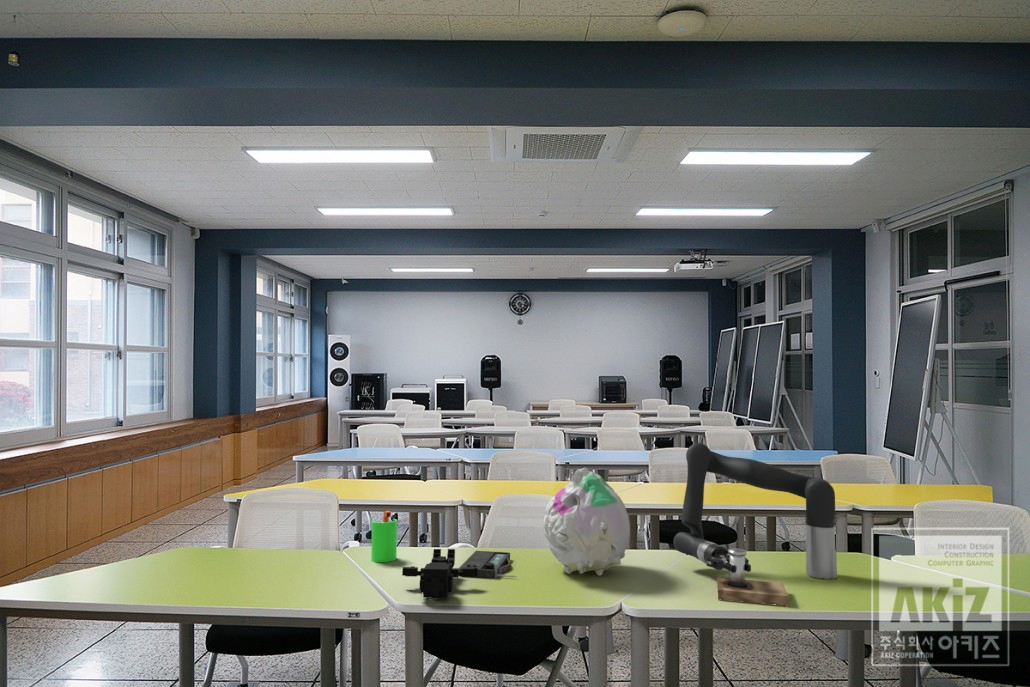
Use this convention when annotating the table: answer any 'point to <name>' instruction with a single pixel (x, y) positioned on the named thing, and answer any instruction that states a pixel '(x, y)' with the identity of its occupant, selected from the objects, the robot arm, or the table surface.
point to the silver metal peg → (737, 567)
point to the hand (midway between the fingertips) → (742, 568)
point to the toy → (439, 575)
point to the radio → (488, 563)
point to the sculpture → (587, 524)
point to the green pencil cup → (384, 539)
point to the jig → (753, 592)
